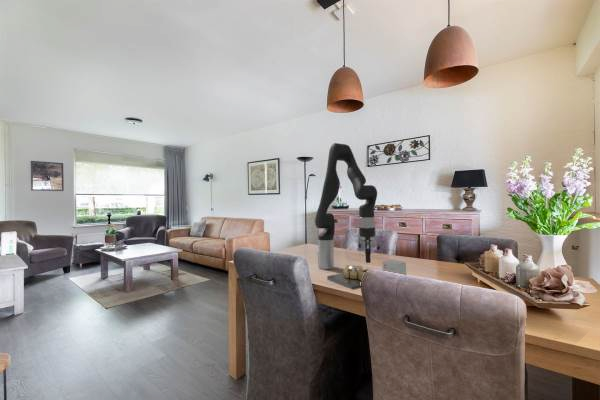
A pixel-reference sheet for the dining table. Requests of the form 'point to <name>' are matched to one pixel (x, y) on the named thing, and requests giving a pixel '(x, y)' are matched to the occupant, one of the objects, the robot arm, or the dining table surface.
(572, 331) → the dining table surface
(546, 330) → the dining table surface
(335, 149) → the robot arm
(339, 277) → the nut base plate
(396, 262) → the small box
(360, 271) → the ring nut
